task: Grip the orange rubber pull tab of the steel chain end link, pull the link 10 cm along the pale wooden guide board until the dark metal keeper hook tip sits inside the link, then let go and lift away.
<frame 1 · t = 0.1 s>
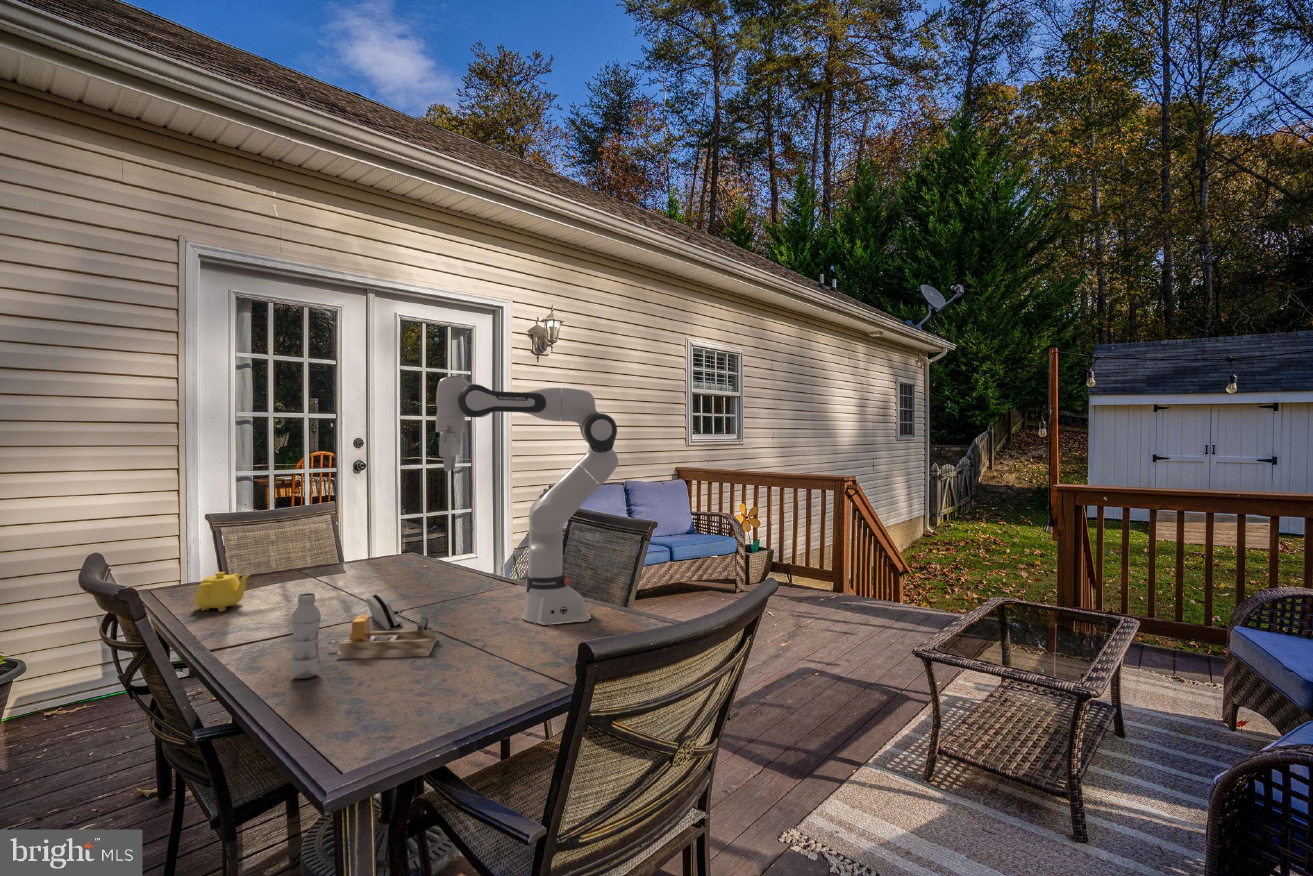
hand: (449, 470, 204), 48 cm above the table, tool pointing down, fingers open, 8 cm apart
teapot: (225, 608, 214), on the table
guide board: (389, 648, 177), on the table
plastic bottle: (305, 677, 156), on the table
keeper hook: (422, 630, 181), point 4 cm above the table
grey rounded slab: (382, 623, 201), on the table
chain end link: (363, 631, 176), point 5 cm above the table, slide at 0.0 cm
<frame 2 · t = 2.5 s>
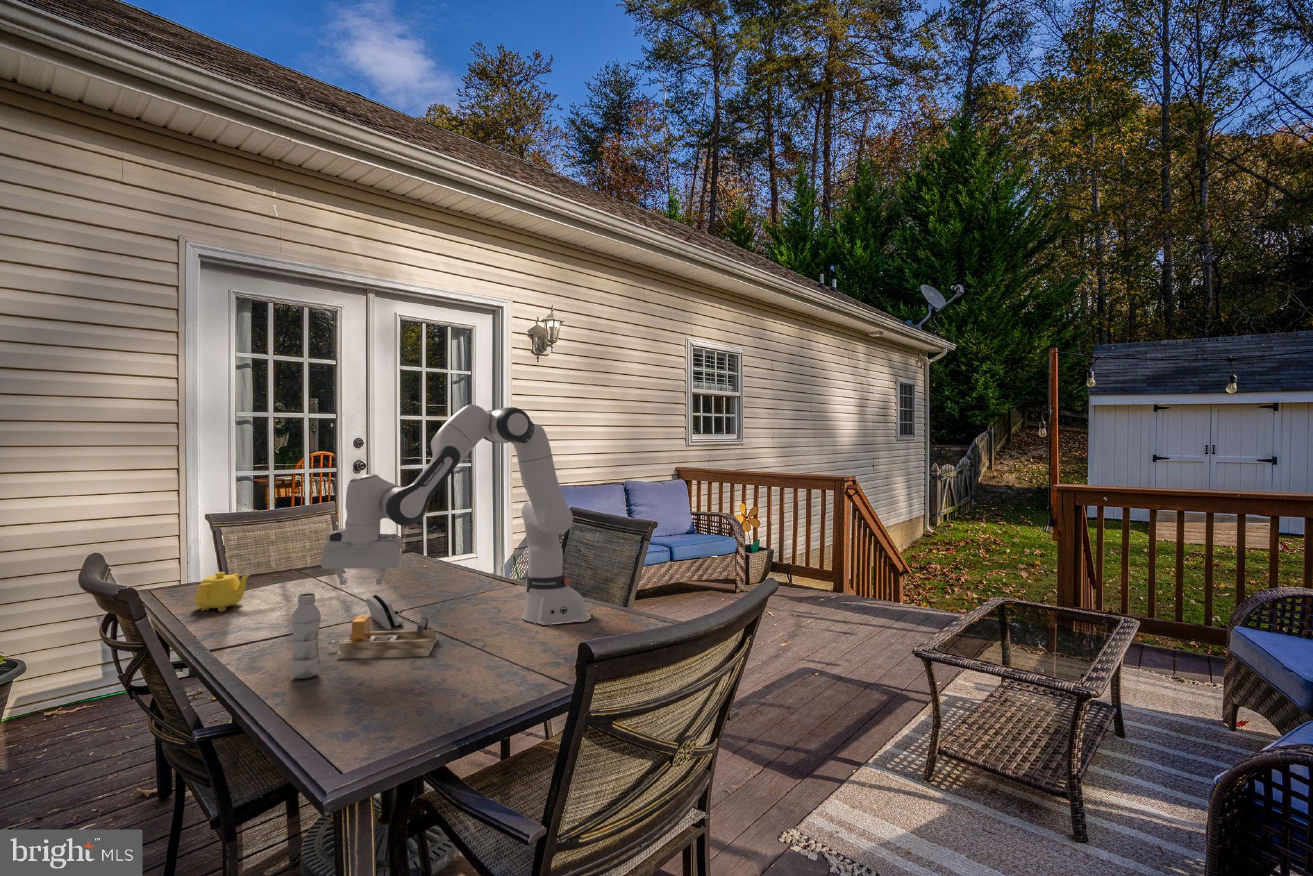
hand: (361, 584, 175), 18 cm above the table, tool pointing down, fingers open, 8 cm apart
nothing on the table moved.
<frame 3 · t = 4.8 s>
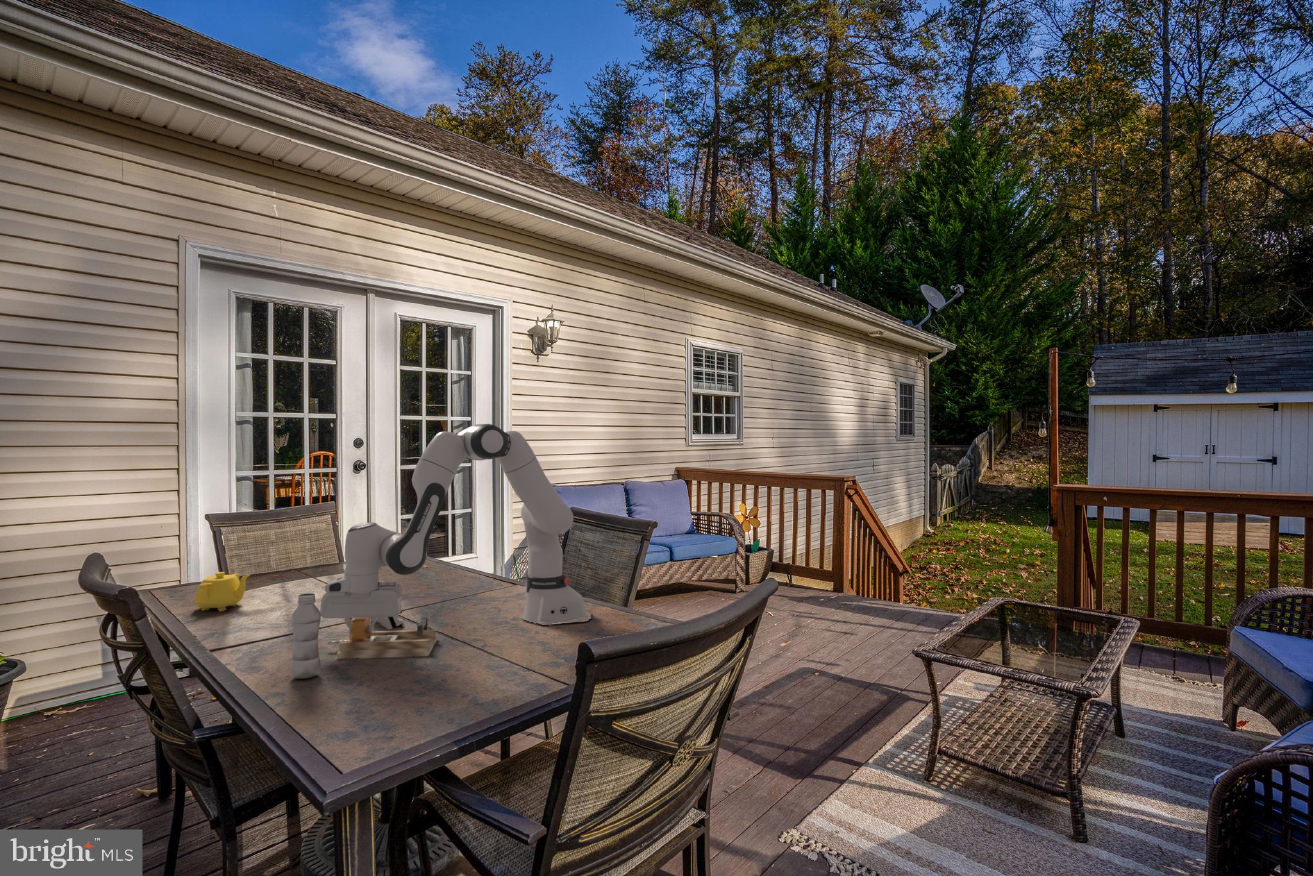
hand: (361, 633, 176), 5 cm above the table, tool pointing down, fingers closed on chain end link, 3 cm apart
chain end link: (364, 631, 176), point 5 cm above the table, slide at 0.0 cm, touching gripper
everything else where it was.
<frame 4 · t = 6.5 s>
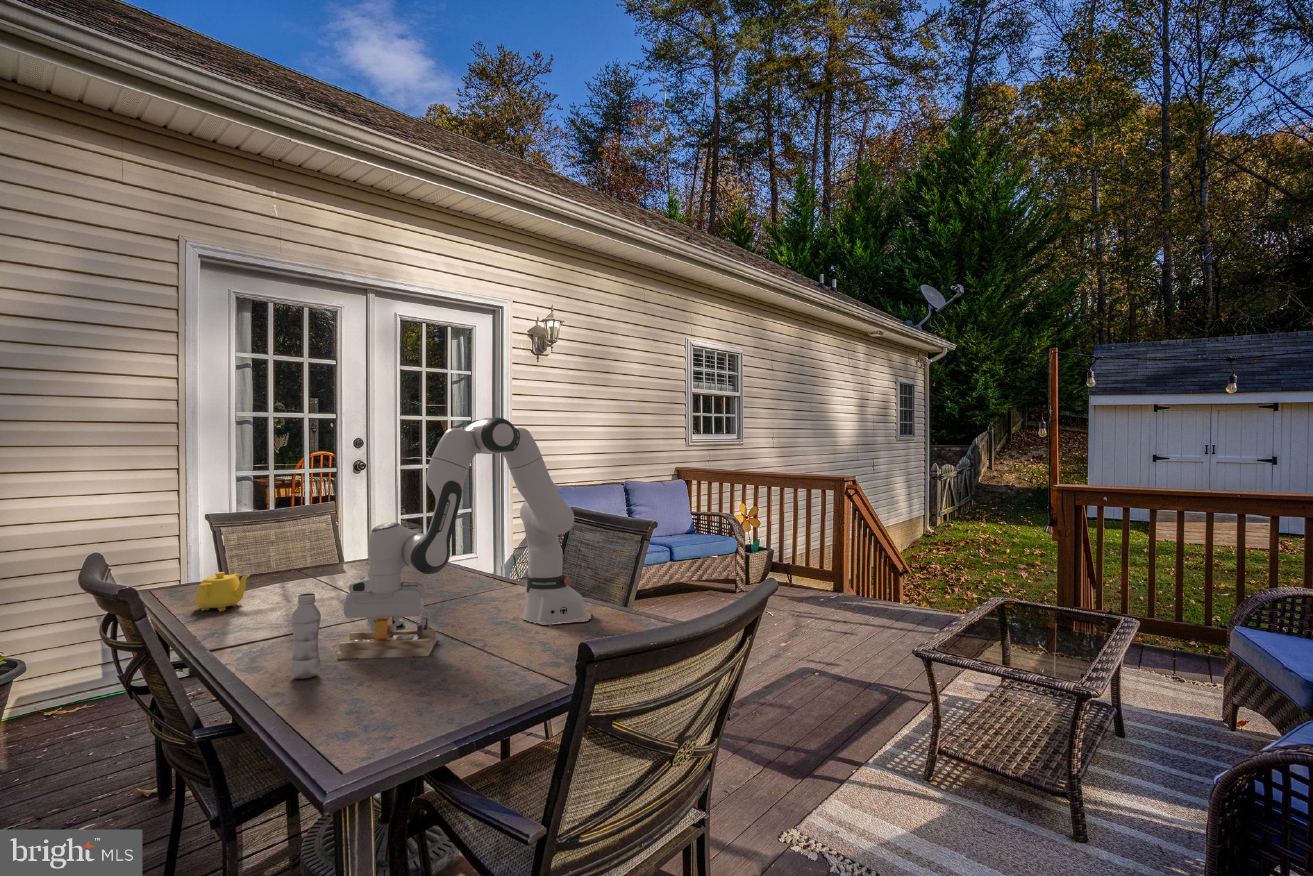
hand: (383, 632, 177), 5 cm above the table, tool pointing down, fingers closed on chain end link, 3 cm apart
chain end link: (386, 630, 177), point 5 cm above the table, slide at 5.9 cm, touching gripper
everything else where it was.
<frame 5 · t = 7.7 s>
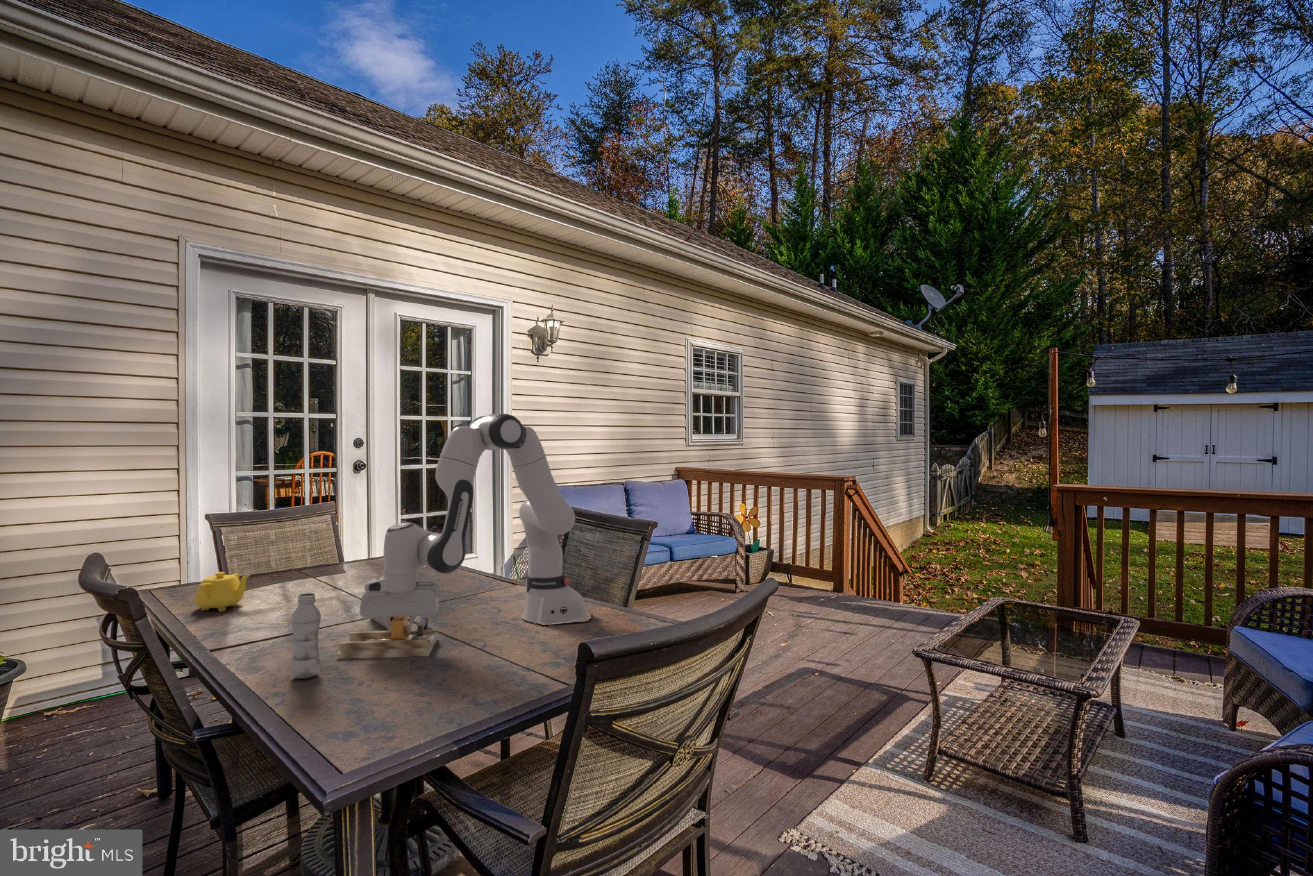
hand: (399, 632, 177), 5 cm above the table, tool pointing down, fingers closed on chain end link, 3 cm apart
chain end link: (402, 630, 177), point 5 cm above the table, slide at 10.0 cm, touching gripper
everything else where it was.
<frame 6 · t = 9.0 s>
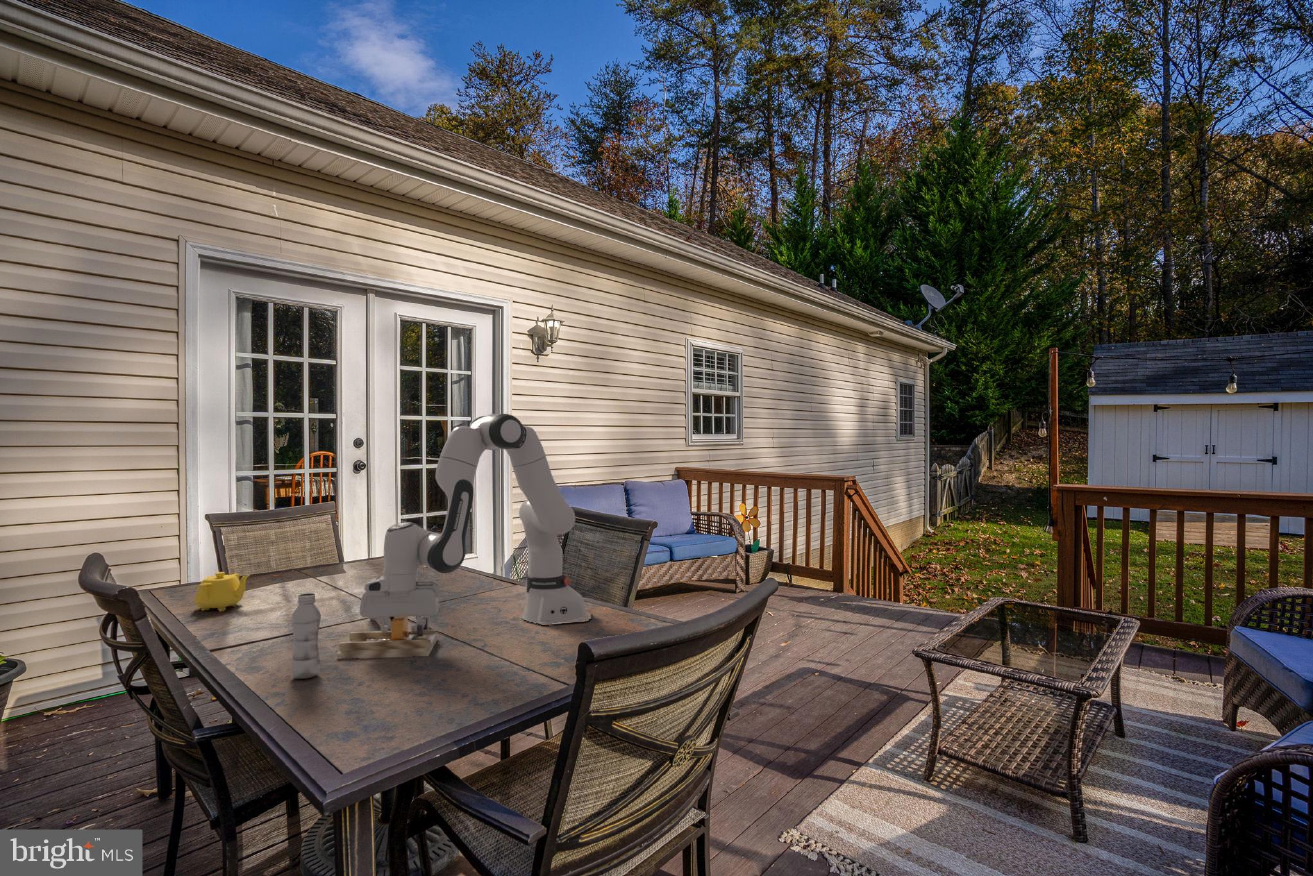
hand: (399, 632, 177), 5 cm above the table, tool pointing down, fingers open, 7 cm apart
chain end link: (402, 630, 177), point 5 cm above the table, slide at 10.1 cm
everything else where it was.
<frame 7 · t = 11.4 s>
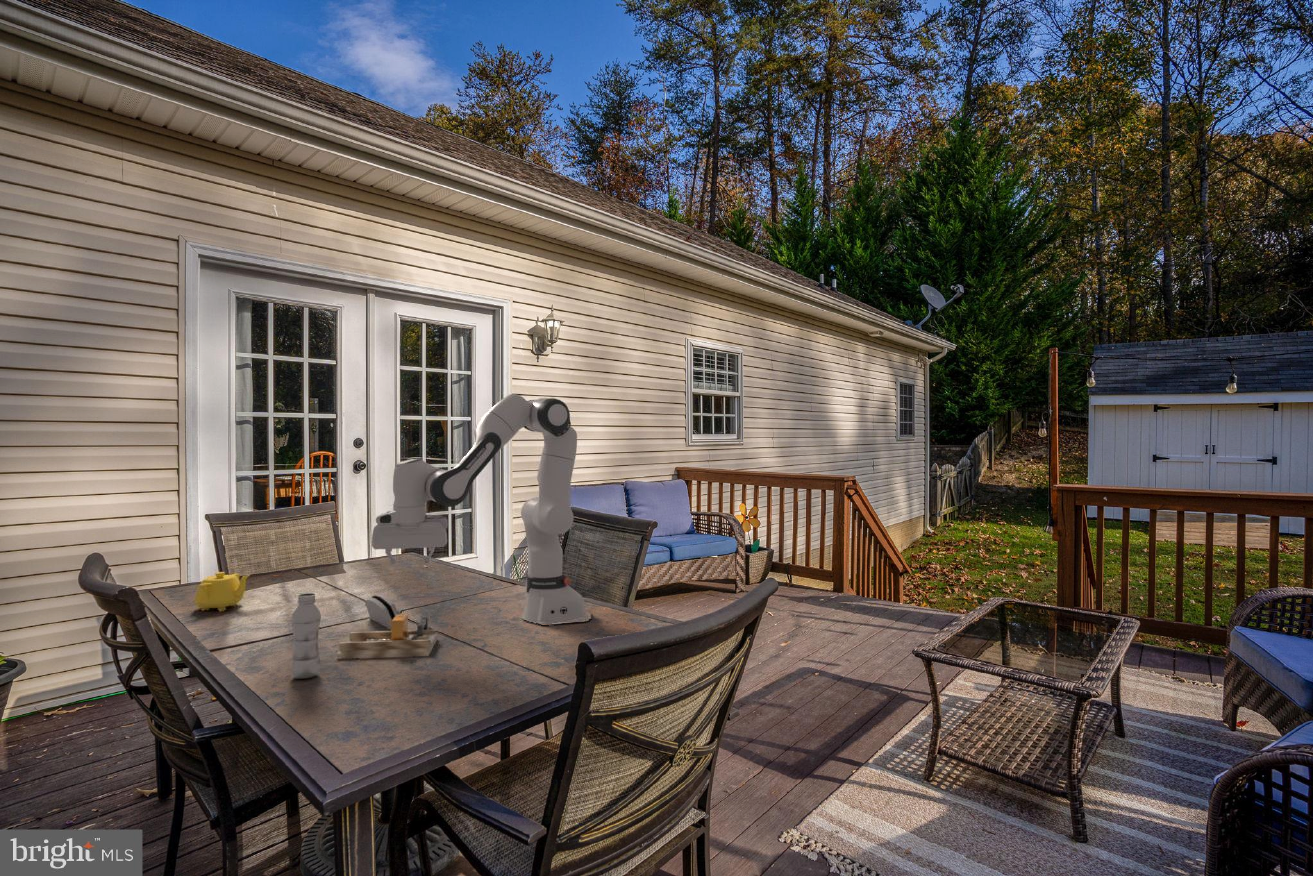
hand: (410, 563, 185), 22 cm above the table, tool pointing down, fingers open, 8 cm apart
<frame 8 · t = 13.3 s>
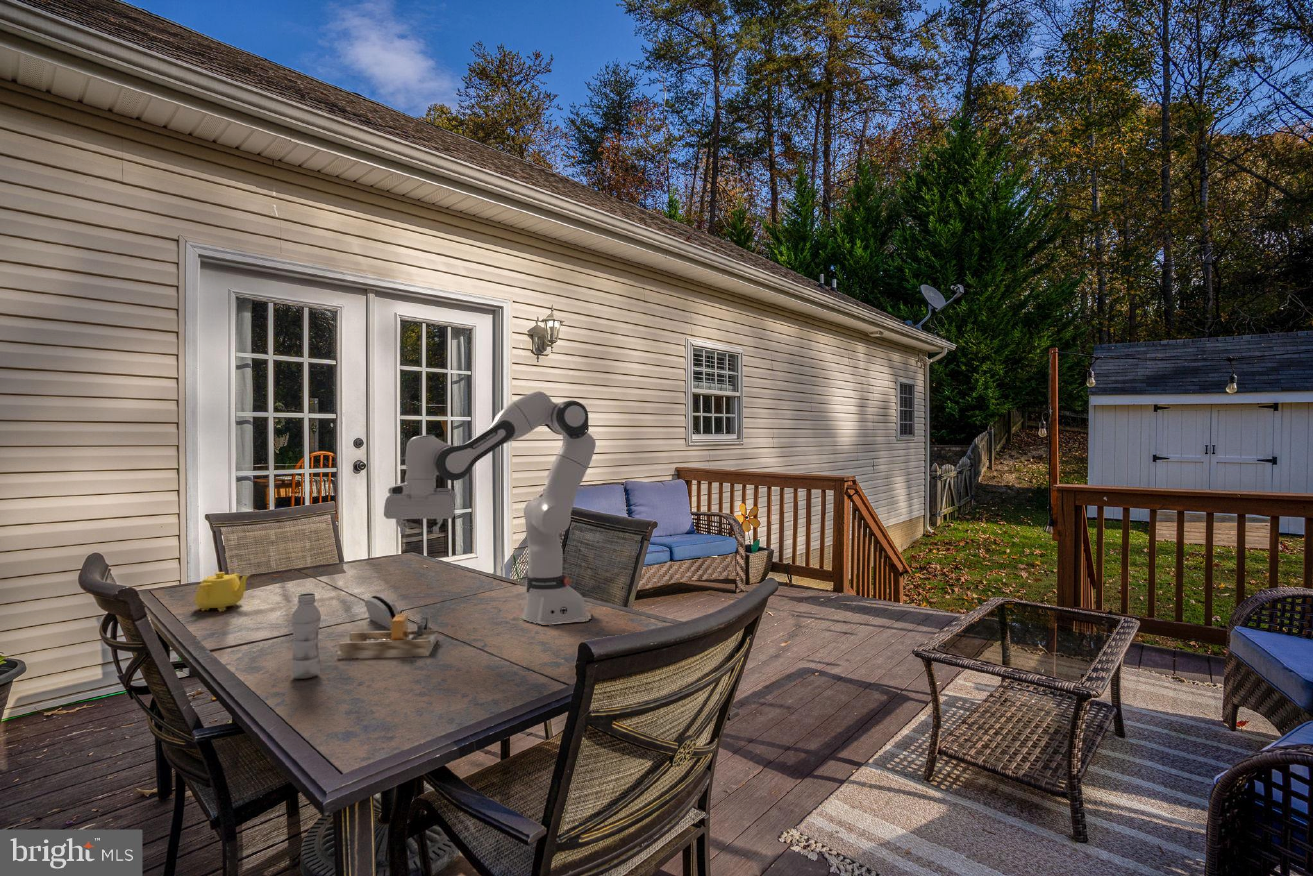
hand: (419, 533, 195), 29 cm above the table, tool pointing down, fingers open, 8 cm apart
at the end: chain end link slide at 10.1 cm; the gripper is holding nothing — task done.
